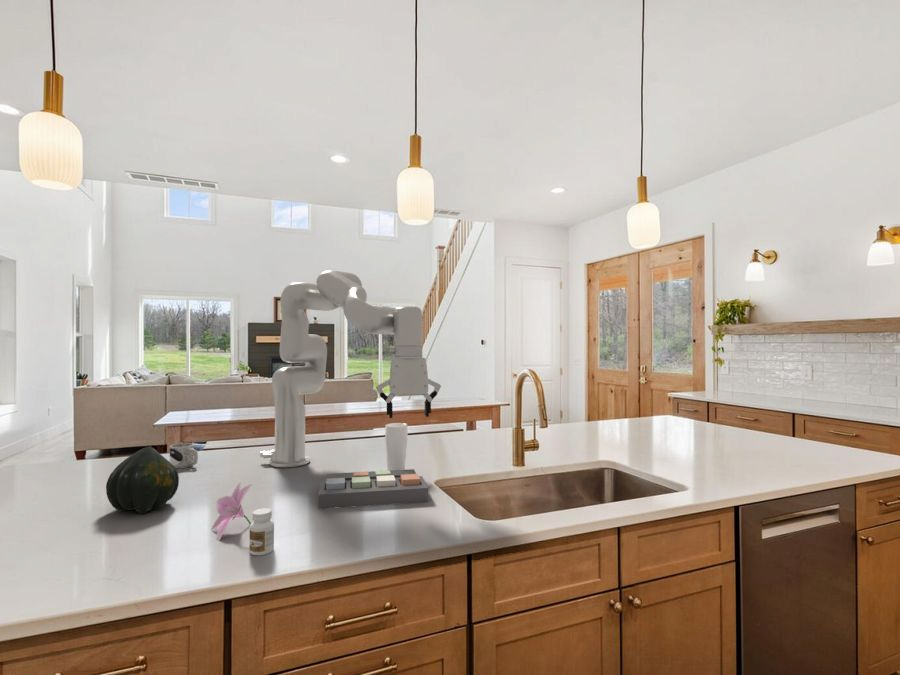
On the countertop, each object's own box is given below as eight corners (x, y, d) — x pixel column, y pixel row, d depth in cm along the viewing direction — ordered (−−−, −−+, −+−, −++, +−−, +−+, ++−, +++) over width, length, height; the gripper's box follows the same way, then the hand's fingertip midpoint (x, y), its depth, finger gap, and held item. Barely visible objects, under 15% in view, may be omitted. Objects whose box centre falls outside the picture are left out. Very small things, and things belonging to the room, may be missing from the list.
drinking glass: (403, 477, 141) (403, 427, 141) (381, 476, 142) (382, 426, 142) (409, 471, 147) (410, 423, 147) (389, 470, 149) (389, 422, 149)
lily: (220, 523, 108) (199, 492, 104) (270, 499, 111) (252, 468, 107) (215, 561, 98) (192, 528, 94) (271, 534, 100) (251, 501, 96)
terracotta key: (402, 489, 123) (402, 479, 123) (400, 483, 127) (400, 474, 127) (419, 488, 124) (420, 478, 124) (417, 482, 128) (417, 473, 128)
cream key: (377, 490, 121) (377, 481, 121) (376, 485, 126) (376, 476, 126) (395, 489, 122) (395, 480, 122) (393, 484, 127) (393, 475, 127)
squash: (110, 503, 102) (158, 442, 111) (80, 493, 110) (127, 437, 119) (162, 530, 111) (203, 472, 120) (131, 519, 119) (171, 465, 128)
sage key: (352, 492, 120) (352, 482, 120) (351, 486, 125) (351, 477, 125) (370, 491, 121) (370, 481, 121) (369, 485, 126) (369, 476, 126)
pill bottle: (244, 553, 91) (244, 513, 91) (261, 544, 95) (261, 505, 95) (262, 557, 89) (262, 516, 89) (278, 548, 93) (278, 508, 93)
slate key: (325, 493, 119) (326, 484, 119) (326, 488, 123) (326, 478, 123) (344, 492, 120) (344, 483, 120) (344, 486, 124) (344, 477, 124)
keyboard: (318, 509, 115) (318, 491, 115) (321, 488, 130) (321, 472, 130) (428, 501, 121) (428, 484, 121) (418, 482, 136) (418, 467, 136)
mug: (164, 467, 150) (164, 446, 150) (183, 462, 156) (183, 442, 156) (187, 470, 146) (187, 449, 146) (205, 465, 152) (205, 444, 153)
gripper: (376, 353, 122) (376, 420, 122) (442, 352, 125) (443, 417, 125) (375, 352, 129) (375, 415, 129) (438, 352, 132) (438, 413, 132)
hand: (408, 416), depth 127 cm, fingers open, 9 cm apart
